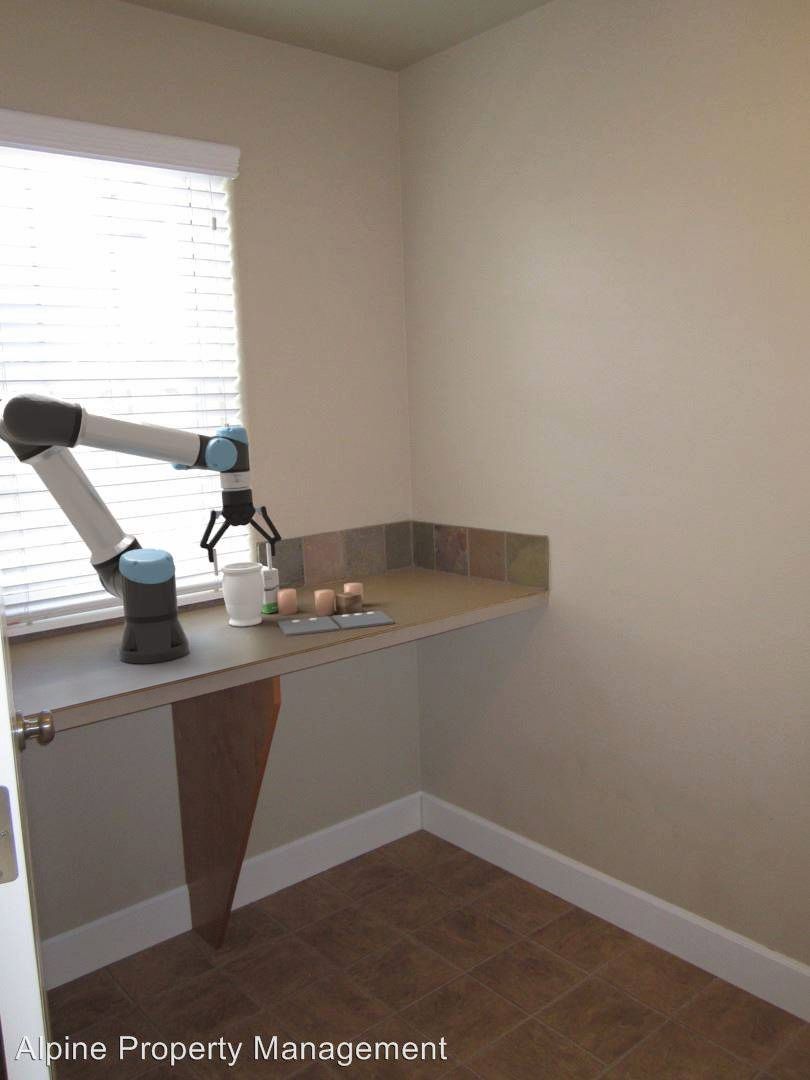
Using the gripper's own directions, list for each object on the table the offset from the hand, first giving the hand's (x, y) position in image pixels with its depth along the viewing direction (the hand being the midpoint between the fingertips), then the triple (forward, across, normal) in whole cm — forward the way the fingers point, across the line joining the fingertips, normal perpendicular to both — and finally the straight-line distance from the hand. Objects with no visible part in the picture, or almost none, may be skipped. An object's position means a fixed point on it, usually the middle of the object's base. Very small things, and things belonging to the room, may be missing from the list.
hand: (243, 572), depth 225 cm
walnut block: (+14, +26, -1) cm, 30 cm away
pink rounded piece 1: (+14, +20, +1) cm, 25 cm away
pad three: (+14, +28, -12) cm, 33 cm away
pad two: (+13, +14, -12) cm, 22 cm away
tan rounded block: (+14, +12, +7) cm, 19 cm away
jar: (+14, 0, 0) cm, 14 cm away
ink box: (+14, +6, +12) cm, 19 cm away
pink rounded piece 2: (+14, +30, +6) cm, 33 cm away
